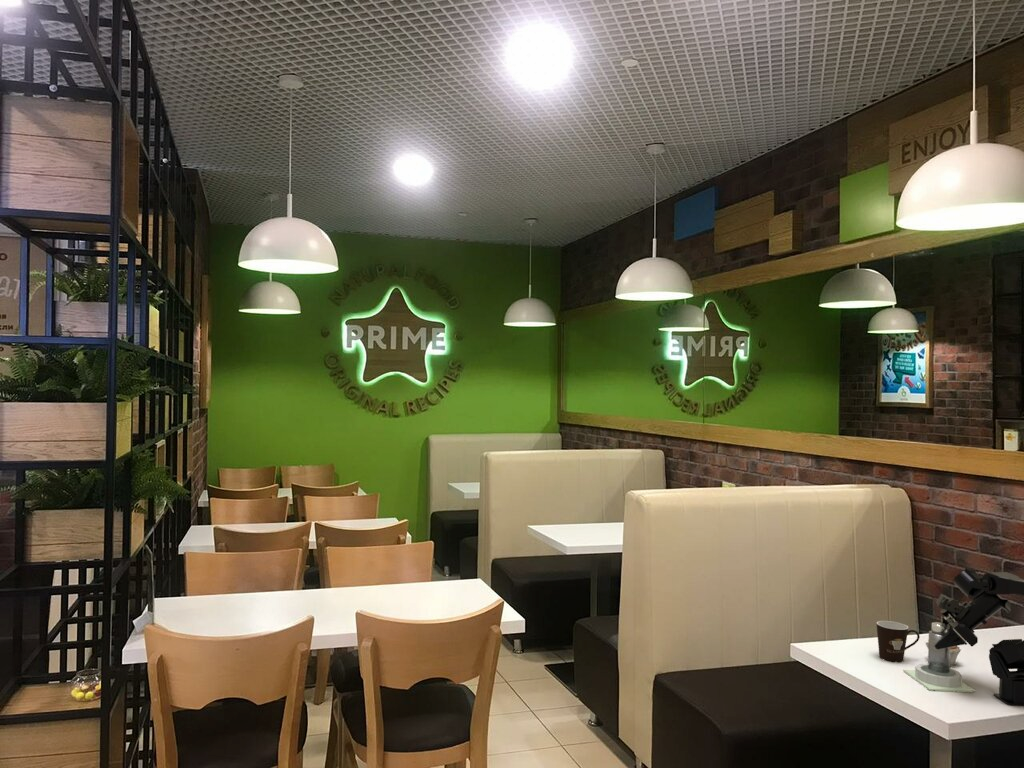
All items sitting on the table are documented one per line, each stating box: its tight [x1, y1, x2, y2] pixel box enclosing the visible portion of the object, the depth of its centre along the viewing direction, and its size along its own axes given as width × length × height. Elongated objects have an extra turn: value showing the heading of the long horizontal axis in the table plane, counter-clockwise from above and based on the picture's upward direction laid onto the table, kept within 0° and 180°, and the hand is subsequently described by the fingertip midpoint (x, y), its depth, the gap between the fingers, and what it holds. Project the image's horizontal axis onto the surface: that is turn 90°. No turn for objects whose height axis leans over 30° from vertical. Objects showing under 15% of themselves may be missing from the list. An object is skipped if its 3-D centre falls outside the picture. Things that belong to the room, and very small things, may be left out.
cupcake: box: [925, 638, 962, 667], centre depth 230 cm, size 9×9×10 cm
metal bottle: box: [927, 621, 951, 673], centre depth 214 cm, size 5×5×12 cm
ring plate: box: [903, 662, 975, 693], centre depth 214 cm, size 14×12×3 cm
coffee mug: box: [876, 620, 921, 663], centre depth 231 cm, size 12×9×10 cm
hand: (933, 644), depth 214 cm, fingers closed on metal bottle, 5 cm apart
